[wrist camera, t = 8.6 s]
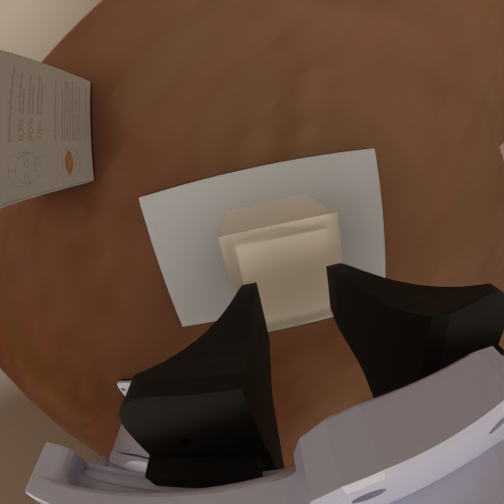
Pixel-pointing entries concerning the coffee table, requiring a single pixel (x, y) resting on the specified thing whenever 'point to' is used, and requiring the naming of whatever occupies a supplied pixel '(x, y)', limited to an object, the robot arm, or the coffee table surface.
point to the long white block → (502, 149)
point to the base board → (251, 193)
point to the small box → (42, 129)
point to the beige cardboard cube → (283, 256)
